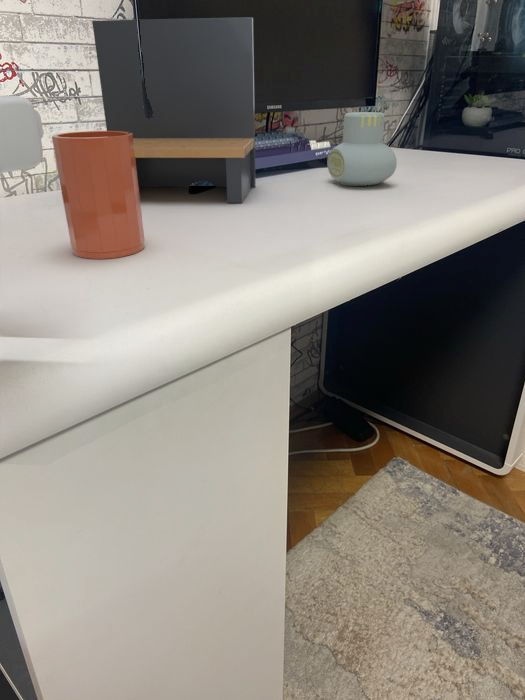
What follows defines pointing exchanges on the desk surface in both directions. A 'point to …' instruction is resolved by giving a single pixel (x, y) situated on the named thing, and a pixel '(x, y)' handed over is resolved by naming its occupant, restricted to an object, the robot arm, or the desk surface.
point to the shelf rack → (183, 99)
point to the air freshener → (362, 151)
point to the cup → (100, 192)
